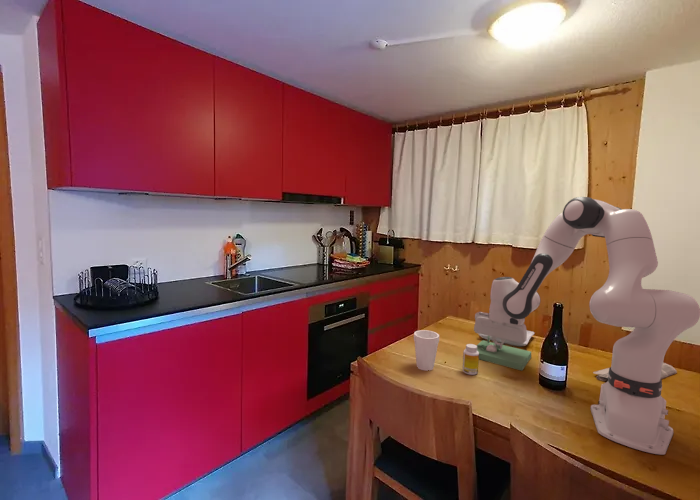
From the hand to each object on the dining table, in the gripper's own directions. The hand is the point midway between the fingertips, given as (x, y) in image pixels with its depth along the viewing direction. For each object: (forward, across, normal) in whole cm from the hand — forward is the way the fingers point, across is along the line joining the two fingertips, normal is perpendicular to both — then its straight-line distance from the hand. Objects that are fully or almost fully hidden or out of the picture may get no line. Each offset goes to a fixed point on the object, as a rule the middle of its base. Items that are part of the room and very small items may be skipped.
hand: (498, 347), depth 147 cm
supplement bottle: (+4, -4, -22) cm, 23 cm away
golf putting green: (+4, +1, 0) cm, 4 cm away
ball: (+2, -3, 0) cm, 3 cm away
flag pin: (+1, -6, +8) cm, 10 cm away
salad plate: (+4, -3, +25) cm, 25 cm away
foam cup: (+4, -19, -29) cm, 35 cm away
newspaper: (+4, +45, +16) cm, 48 cm away
